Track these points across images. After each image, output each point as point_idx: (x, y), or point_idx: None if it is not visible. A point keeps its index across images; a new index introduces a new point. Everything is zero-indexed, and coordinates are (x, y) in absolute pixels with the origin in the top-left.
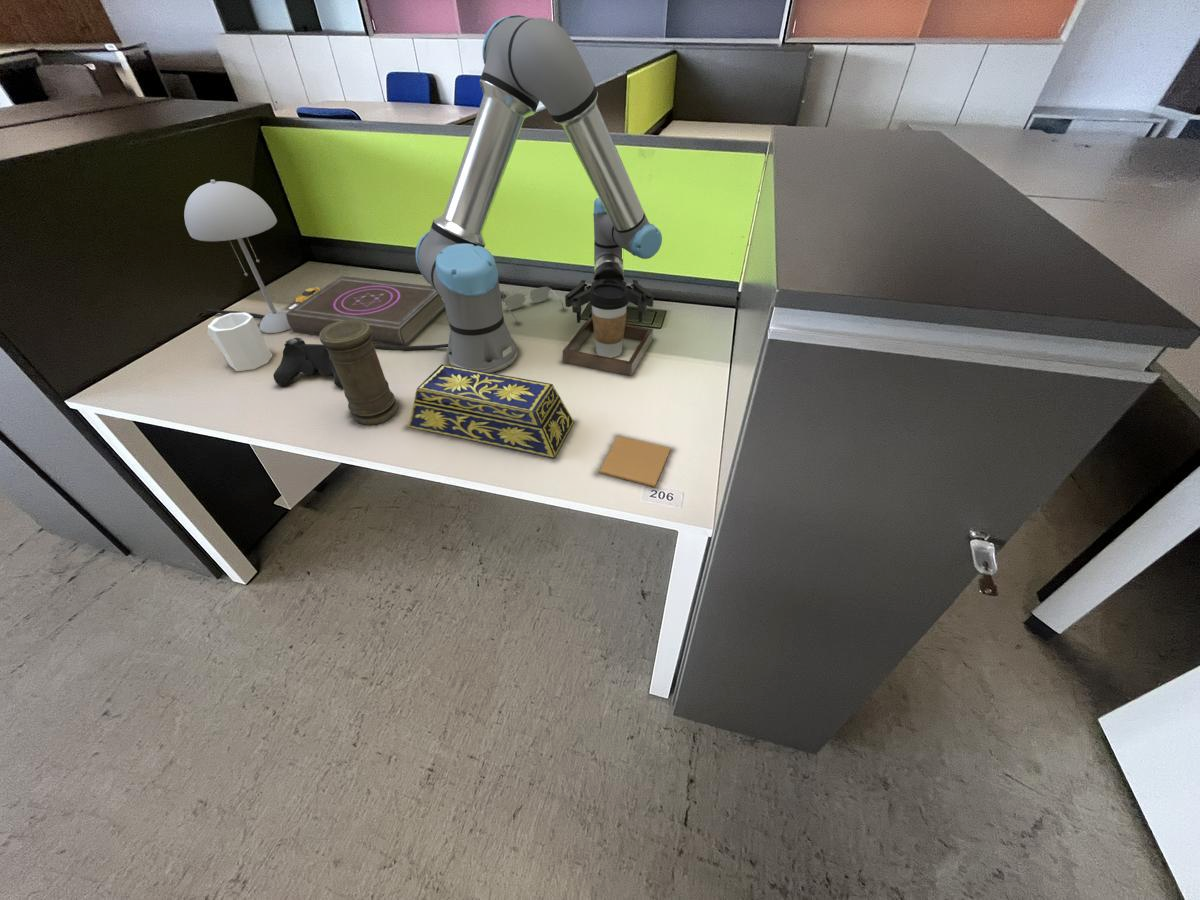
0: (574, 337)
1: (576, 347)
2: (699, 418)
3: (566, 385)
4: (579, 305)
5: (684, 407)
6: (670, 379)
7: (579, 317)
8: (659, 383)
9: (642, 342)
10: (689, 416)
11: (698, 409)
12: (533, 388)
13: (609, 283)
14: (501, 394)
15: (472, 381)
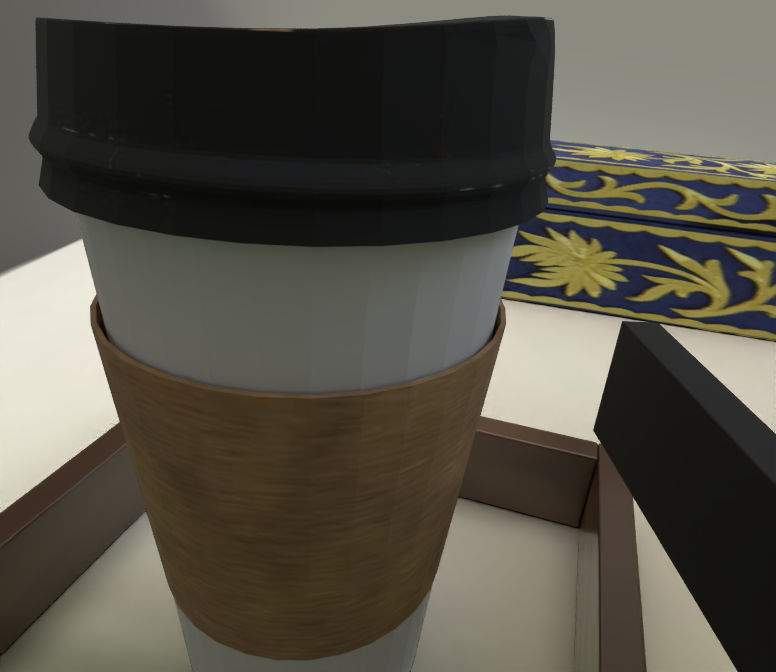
0: (628, 589)
1: (581, 614)
2: (60, 279)
3: (515, 386)
4: (707, 400)
5: (77, 303)
6: (24, 395)
7: (612, 377)
8: (97, 379)
9: (24, 509)
10: (86, 284)
11: (34, 296)
12: (559, 153)
13: (276, 29)
14: (631, 153)
15: (752, 170)
